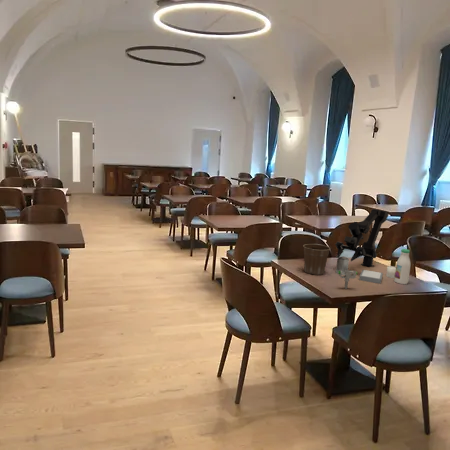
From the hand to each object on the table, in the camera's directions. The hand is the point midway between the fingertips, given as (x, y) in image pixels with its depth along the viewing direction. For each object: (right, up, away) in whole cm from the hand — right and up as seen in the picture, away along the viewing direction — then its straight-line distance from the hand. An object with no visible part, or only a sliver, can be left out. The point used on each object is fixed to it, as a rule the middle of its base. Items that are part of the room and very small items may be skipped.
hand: (344, 259), depth 270 cm
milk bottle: (+31, -13, -9) cm, 35 cm away
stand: (+15, -11, -6) cm, 19 cm away
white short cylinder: (+29, -11, +1) cm, 31 cm away
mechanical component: (-7, -14, -29) cm, 33 cm away
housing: (-1, -9, +1) cm, 9 cm away
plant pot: (-19, -8, -1) cm, 21 cm away
